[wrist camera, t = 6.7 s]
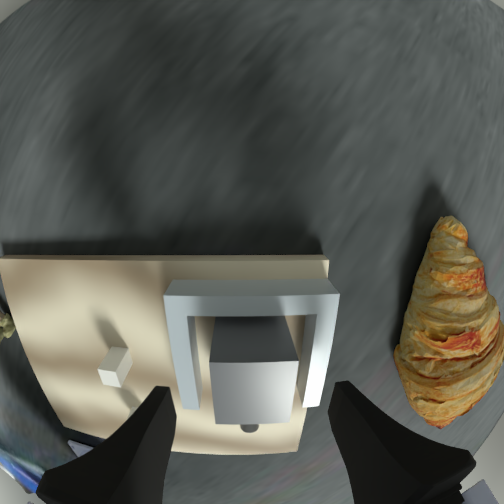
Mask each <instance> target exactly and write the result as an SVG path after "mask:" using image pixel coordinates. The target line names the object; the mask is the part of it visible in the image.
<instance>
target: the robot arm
mask: <svg viewBox="0 0 504 504" xmlns="http://www.w3.org/2000/svg"><path fill="white" fill-rule="evenodd" d="M328 415H329V420H330V424H331V428H332V432H333V434H334V437H335V440H336V442H337V445H338V447H339V450H340V453H341V455H342V458H343V460H344V463H345V465H346V468H347V472H348V475H349V479H350V484H351V488H352V493H353V498H354V504H498V502H497V500H496V498H495V497H494V495H493V494H492V492H491V490H490V489H489V487H488V485H487V484H486V482H485V481H484V479H482V480H481V481H479V482H478V483H476V484H475V485H474V486H472V487H471V488H469V489H468V490H466V491H465V492H464V493H462V494H461V493H460V491H459V490H461V489H462V486H461V484H460V482H461V481H462V480H463V479H464V478H465V477H466V476H467V475H468V474H469V473H470V472H471V471H472V470H473V469H474V468H475V466H476V461H475V460H474V458H473V457H472V455H471V454H470V452H469V451H468V450H465V449H460V448H455V447H451V446H447V445H444V444H441V443H438V442H435V441H432V440H430V439H428V438H425V437H423V436H421V435H419V434H417V433H415V432H413V431H411V430H409V429H408V428H406V427H404V426H403V425H401V424H399V423H398V422H396V421H395V420H394V419H392V418H391V417H389V416H388V415H387V414H385V413H384V412H383V411H382V410H380V409H379V408H378V407H377V406H376V405H374V404H373V403H372V402H371V401H370V400H369V399H368V398H367V397H365V396H364V395H363V394H362V393H361V392H360V391H359V390H358V389H357V388H356V387H355V386H354V385H353V384H351V383H350V382H349V381H341V382H336V383H335V387H334V391H333V394H332V398H331V402H330V406H329V409H328ZM176 421H177V414H176V410H175V407H174V403H173V399H172V394H171V390H170V387H168V386H157V385H156V386H155V387H154V388H153V390H152V391H151V392H150V393H149V395H148V396H147V397H146V399H145V400H144V401H143V402H142V403H141V405H140V406H139V407H138V408H137V409H136V410H135V411H134V413H133V414H132V415H131V416H130V417H129V418H128V419H127V420H126V421H125V422H124V423H123V424H122V425H121V426H120V427H119V428H118V429H117V430H116V431H115V432H114V433H113V434H112V435H110V436H109V437H108V438H107V439H105V440H104V441H103V442H102V443H100V444H99V445H97V446H96V447H95V448H94V447H90V446H87V445H84V444H81V443H78V442H75V441H72V440H69V441H68V444H69V445H70V447H71V448H72V449H73V451H74V452H75V453H76V455H77V456H78V458H76V459H74V460H72V461H70V462H68V463H66V464H64V465H61V466H58V467H56V468H53V469H50V470H47V471H45V473H44V474H43V476H42V478H41V480H40V483H39V485H38V487H37V490H36V494H37V496H38V497H39V498H40V499H41V500H42V501H44V502H45V503H46V504H162V497H163V487H164V479H165V473H166V469H167V465H168V461H169V457H170V453H171V449H172V445H173V441H174V437H175V430H176ZM27 504H33V503H31V502H28V503H27Z"/></svg>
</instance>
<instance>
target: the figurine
mask: <svg viewBox="0 0 504 504" xmlns="http://www.w3.org/2000/svg"><path fill="white" fill-rule="evenodd" d="M1 326H2V327H3V328H2V327H1ZM15 328H16V326H15V323H14V320H13V318H11V317H10V315H9V314H8V313H6V314H5V315H4V314H3V313H2V312H1V311H0V343H1V340H2V339H3V338H4V337H6V338H9V337H11V335H12V334H13V332H14V330H15Z"/></svg>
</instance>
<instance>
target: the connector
mask: <svg viewBox="0 0 504 504" xmlns="http://www.w3.org/2000/svg"><path fill="white" fill-rule="evenodd" d="M298 365H299V359H298V356H297V353H296V350H295V346H294V343H293V340H292V337H291V334H290V331H289V327H288V324H287V321H286V318H285V316H216V317H215V324H214V331H213V337H212V344H211V351H210V358H209V369H210V379H211V389H212V398H213V407H214V416H215V424H229V425H240V428H241V430H242V431H244V432H246V433H253V432H255V431H257V430H258V428H259V424H273V423H288V422H290V416H291V410H292V404H293V398H294V392H295V385H296V379H297V372H298Z"/></svg>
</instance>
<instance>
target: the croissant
mask: <svg viewBox="0 0 504 504" xmlns="http://www.w3.org/2000/svg"><path fill="white" fill-rule="evenodd" d="M467 242H468V234H467V230H466V228H465V227H464V226H463V224H462V223H461V222H460V221H458V220H457V219H456V218H454V217H453V216H452V215H450V216H445V217H444V218H443V217H440V219H439V220H438V222H437V223H436V225H435V226H434V228H433V230H432V232H431V238H430V240H429V242H428V243H427V249H426V252H425V255H424V257H423V260H422V262H421V265H420V267H419V269H418V272H417V274H416V277H415V283H414V285H413V292H412V295H411V299H410V301H409V303H408V308H407V311H406V312H405V316H404V324H403V328H402V333H401V337H400V344H398V345H396V348H395V350H394V354H393V356H394V361H395V364H396V367H397V370H398V372H399V376H400V379H401V381H402V385H403V387H404V390H405V393H406V396H407V399H408V401H409V403H410V405H411V406H412V408H413V409H414V410H415V411H416V412H417V413H418V414H419V416H422V417H424V419H425V421H426V422H427V424H429V425H432V426H436V427H438V428H439V429H442V428H443V427H445V426H446V425H448V424H450V423H451V422H452V421H453V420H454V419H455V418H456V417H457V416H462V415H464V414H465V413H467V412H468V411H469V410H470V409H472V407H473V406H474V405H475V404H476V403H477V402H478V401H480V399H481V398H482V397H483V396H484V395H485V393H487V391H488V389H489V388H490V387H491V386H492V384H493V382H494V380H495V379H496V377H497V375H498V373H499V370H500V367H501V365H502V363H503V360H504V324H503V322H501V320H500V312H499V309H498V305H497V302H496V300H495V298H494V297H493V296H491V295H490V293H489V291H488V288H487V286H486V282H485V275H484V267H483V263H482V261H481V260H480V259H479V258H477V257H476V254H475V252H474V250H472V249H470V248H468V247H467Z"/></svg>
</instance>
